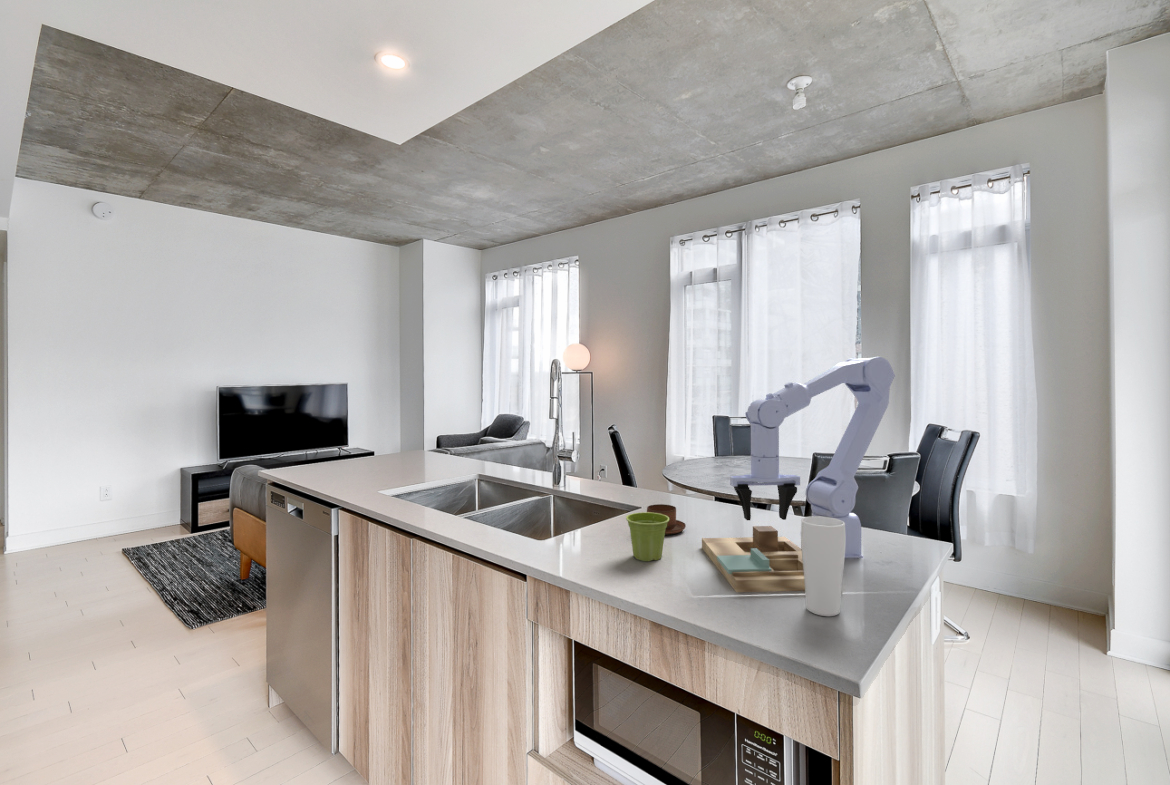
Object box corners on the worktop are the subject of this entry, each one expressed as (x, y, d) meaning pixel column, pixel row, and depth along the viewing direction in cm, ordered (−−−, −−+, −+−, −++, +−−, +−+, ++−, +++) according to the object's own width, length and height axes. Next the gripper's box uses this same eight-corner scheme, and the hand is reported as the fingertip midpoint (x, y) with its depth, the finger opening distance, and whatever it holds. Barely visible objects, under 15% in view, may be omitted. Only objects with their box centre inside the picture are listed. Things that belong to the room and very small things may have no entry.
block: (770, 553, 120) (770, 525, 120) (777, 559, 116) (777, 531, 116) (752, 553, 120) (752, 526, 120) (759, 559, 116) (759, 531, 116)
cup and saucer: (628, 532, 139) (628, 508, 139) (654, 523, 148) (654, 500, 148) (669, 541, 131) (669, 516, 131) (694, 530, 140) (694, 506, 140)
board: (784, 547, 125) (784, 534, 125) (840, 591, 99) (840, 574, 99) (701, 548, 125) (701, 535, 125) (736, 593, 99) (736, 577, 99)
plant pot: (674, 553, 122) (674, 514, 121) (662, 567, 113) (662, 525, 113) (634, 548, 126) (634, 510, 125) (619, 561, 117) (619, 520, 117)
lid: (756, 558, 110) (756, 547, 110) (771, 573, 102) (771, 560, 102) (717, 559, 110) (717, 548, 110) (728, 573, 102) (728, 561, 102)
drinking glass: (793, 603, 94) (793, 516, 94) (831, 601, 95) (831, 515, 94) (813, 620, 87) (813, 527, 87) (854, 618, 88) (854, 525, 88)
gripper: (790, 452, 122) (791, 513, 122) (725, 453, 121) (726, 514, 122) (804, 457, 115) (804, 522, 115) (735, 458, 114) (735, 523, 115)
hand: (765, 518), depth 118 cm, fingers open, 7 cm apart
